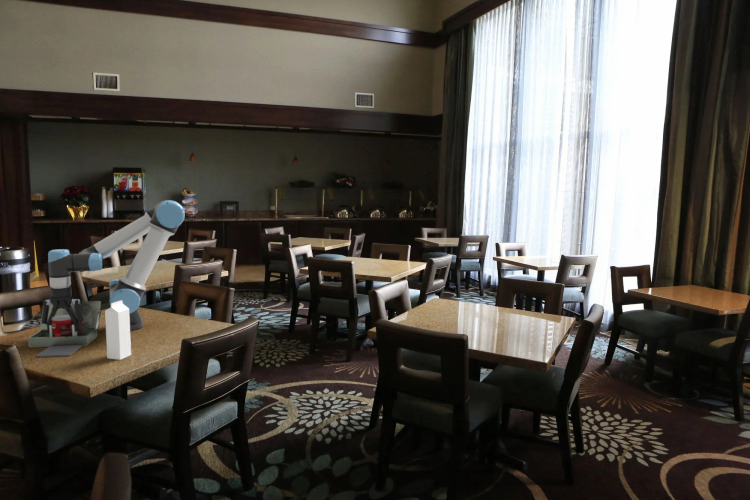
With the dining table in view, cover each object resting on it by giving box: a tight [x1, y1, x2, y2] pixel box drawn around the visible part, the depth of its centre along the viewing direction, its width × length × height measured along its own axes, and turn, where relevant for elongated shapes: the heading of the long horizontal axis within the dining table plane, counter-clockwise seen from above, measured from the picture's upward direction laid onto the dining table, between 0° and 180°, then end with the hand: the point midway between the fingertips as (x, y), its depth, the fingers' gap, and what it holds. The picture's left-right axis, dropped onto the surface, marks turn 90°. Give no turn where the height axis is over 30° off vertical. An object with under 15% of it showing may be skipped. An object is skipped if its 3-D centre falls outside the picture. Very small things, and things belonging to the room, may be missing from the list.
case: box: [27, 300, 102, 349], centre depth 215 cm, size 24×17×15 cm
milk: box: [104, 300, 132, 361], centre depth 195 cm, size 6×6×22 cm
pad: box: [35, 345, 83, 358], centre depth 201 cm, size 12×12×1 cm
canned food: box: [52, 315, 74, 337], centre depth 212 cm, size 8×8×11 cm
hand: (63, 339), depth 213 cm, fingers closed on canned food, 8 cm apart
